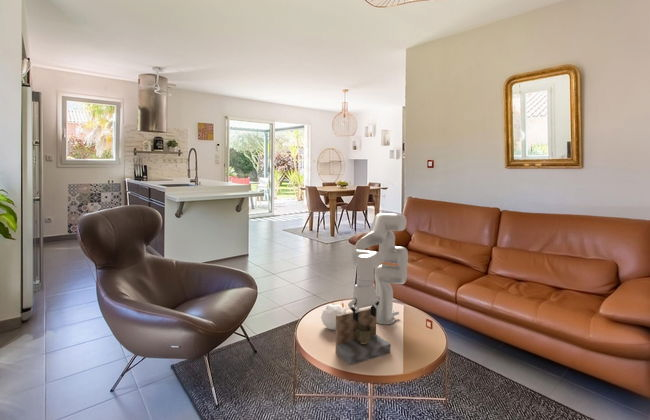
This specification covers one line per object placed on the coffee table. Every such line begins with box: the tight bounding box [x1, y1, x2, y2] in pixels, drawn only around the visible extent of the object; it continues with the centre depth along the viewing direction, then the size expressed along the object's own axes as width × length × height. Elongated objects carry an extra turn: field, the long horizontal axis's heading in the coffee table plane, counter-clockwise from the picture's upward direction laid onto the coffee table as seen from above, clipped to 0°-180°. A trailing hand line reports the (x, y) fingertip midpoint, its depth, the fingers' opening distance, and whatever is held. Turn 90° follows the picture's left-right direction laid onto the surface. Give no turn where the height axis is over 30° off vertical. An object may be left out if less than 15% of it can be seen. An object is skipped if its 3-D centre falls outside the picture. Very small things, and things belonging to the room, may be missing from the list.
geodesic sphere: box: [320, 303, 346, 331], centre depth 191 cm, size 14×14×14 cm
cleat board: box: [334, 307, 391, 366], centre depth 166 cm, size 22×12×18 cm, turn 119°
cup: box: [356, 324, 372, 345], centre depth 166 cm, size 8×7×8 cm
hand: (364, 317), depth 165 cm, fingers open, 9 cm apart
